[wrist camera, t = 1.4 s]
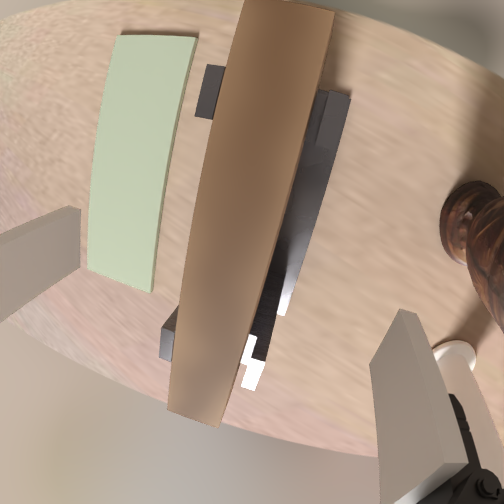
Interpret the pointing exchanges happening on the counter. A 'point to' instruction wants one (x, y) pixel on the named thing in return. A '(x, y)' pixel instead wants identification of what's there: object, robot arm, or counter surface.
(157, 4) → the counter surface
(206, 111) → the rack
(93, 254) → the mat
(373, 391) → the robot arm
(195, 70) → the counter surface
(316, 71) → the rail
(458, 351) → the candle
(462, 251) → the mortar and pestle
